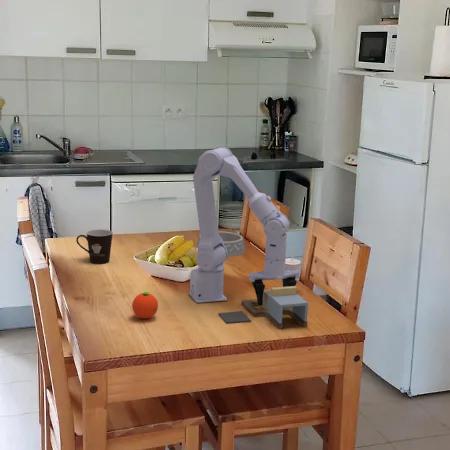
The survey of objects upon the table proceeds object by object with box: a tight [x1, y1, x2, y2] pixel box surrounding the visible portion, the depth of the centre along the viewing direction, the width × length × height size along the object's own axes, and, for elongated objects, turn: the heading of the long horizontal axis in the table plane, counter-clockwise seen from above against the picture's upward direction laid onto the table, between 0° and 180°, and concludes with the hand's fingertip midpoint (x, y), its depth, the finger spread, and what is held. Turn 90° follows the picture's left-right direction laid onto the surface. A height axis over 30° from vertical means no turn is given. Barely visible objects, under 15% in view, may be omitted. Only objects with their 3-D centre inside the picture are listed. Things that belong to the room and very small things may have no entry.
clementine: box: [131, 291, 159, 319], centre depth 190 cm, size 8×7×7 cm
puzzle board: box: [241, 298, 308, 330], centre depth 197 cm, size 15×20×1 cm
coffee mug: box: [75, 229, 114, 265], centre depth 237 cm, size 12×9×10 cm
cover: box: [268, 286, 309, 324], centre depth 190 cm, size 8×8×7 cm
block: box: [261, 289, 271, 309], centre depth 200 cm, size 4×4×5 cm
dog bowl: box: [195, 230, 246, 258], centre depth 257 cm, size 17×18×5 cm
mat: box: [218, 310, 252, 325], centre depth 193 cm, size 7×7×1 cm
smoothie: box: [281, 247, 302, 288], centre depth 214 cm, size 6×6×14 cm
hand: (272, 303), depth 201 cm, fingers open, 7 cm apart
